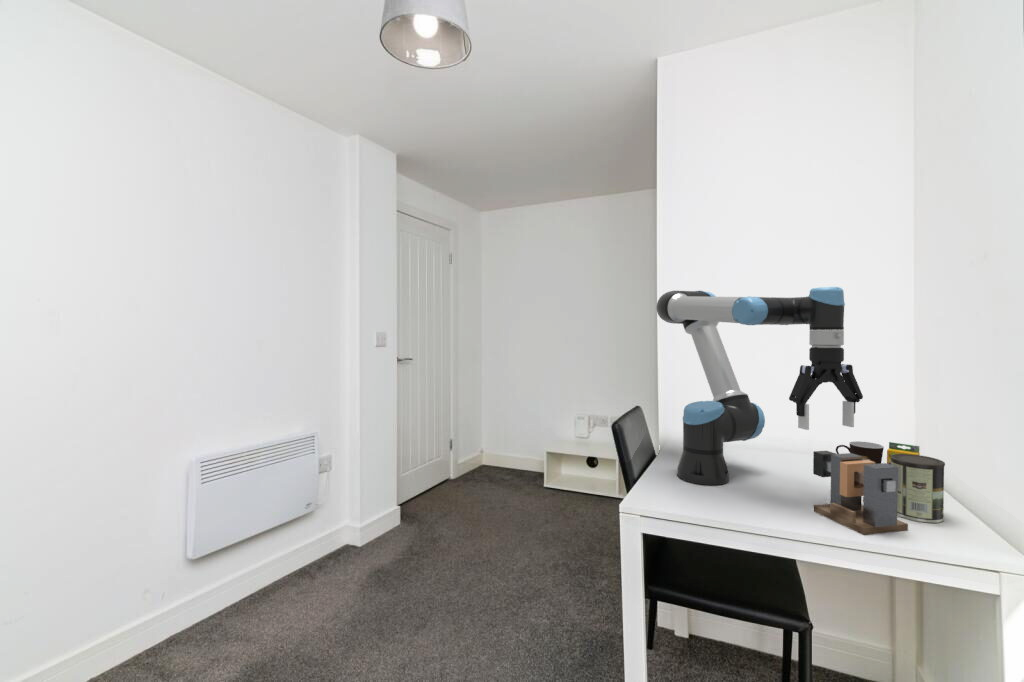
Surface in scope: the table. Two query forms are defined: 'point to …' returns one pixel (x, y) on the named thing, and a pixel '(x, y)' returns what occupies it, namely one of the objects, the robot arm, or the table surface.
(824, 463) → the shaft
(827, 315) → the robot arm
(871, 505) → the bearing blocks
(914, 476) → the coffee can
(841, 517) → the tray
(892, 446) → the crayon box
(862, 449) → the coffee mug
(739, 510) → the table surface
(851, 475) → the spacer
